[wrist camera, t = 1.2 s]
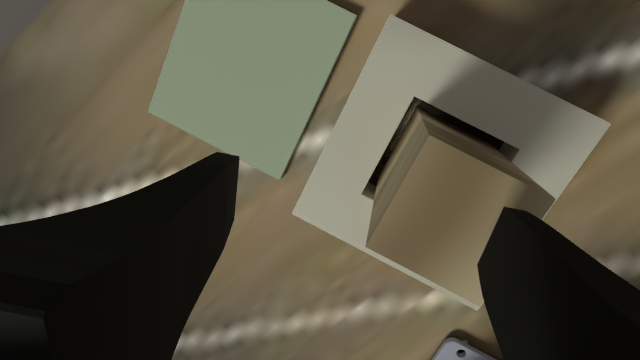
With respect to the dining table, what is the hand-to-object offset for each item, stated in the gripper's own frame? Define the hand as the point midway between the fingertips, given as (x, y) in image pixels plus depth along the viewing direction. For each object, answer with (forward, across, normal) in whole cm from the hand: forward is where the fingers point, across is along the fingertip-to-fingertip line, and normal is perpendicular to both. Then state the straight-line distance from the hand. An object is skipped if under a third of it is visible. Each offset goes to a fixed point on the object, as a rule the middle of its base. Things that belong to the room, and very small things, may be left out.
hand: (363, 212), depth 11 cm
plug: (+10, -4, +2) cm, 11 cm away
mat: (+12, +6, 0) cm, 13 cm away
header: (+10, -4, +2) cm, 11 cm away
